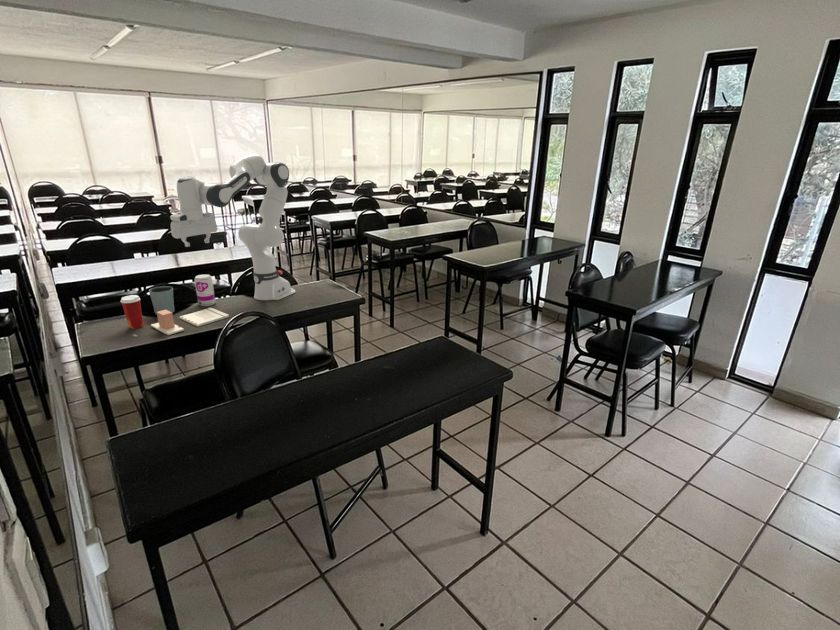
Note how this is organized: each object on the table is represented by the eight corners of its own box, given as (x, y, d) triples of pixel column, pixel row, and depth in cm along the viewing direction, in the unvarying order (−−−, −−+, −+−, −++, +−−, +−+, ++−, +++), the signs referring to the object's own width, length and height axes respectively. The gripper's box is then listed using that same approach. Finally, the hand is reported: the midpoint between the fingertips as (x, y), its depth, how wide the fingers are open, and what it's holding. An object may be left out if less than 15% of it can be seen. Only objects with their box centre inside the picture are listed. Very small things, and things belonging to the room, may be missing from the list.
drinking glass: (148, 314, 224) (143, 290, 220) (165, 307, 233) (161, 284, 229) (165, 316, 222) (160, 293, 217) (181, 309, 230) (177, 287, 226)
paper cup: (149, 323, 214) (143, 295, 208) (138, 330, 206) (132, 300, 201) (134, 322, 214) (127, 294, 209) (122, 329, 207) (115, 299, 202)
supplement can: (211, 306, 235) (207, 278, 230) (195, 306, 235) (190, 278, 230) (218, 301, 243) (214, 274, 237) (203, 301, 243) (198, 273, 237)
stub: (166, 321, 215) (163, 306, 212) (184, 330, 206) (181, 314, 203) (151, 326, 210) (147, 310, 207) (168, 335, 201) (165, 318, 198)
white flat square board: (211, 309, 232) (210, 307, 231) (229, 316, 223) (229, 314, 222) (179, 318, 220) (179, 316, 219) (197, 326, 211) (197, 324, 210)
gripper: (210, 210, 217) (214, 239, 223) (166, 216, 202) (172, 247, 207) (217, 212, 214) (222, 241, 219) (173, 218, 199) (179, 249, 204)
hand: (197, 244), depth 213 cm, fingers open, 8 cm apart
